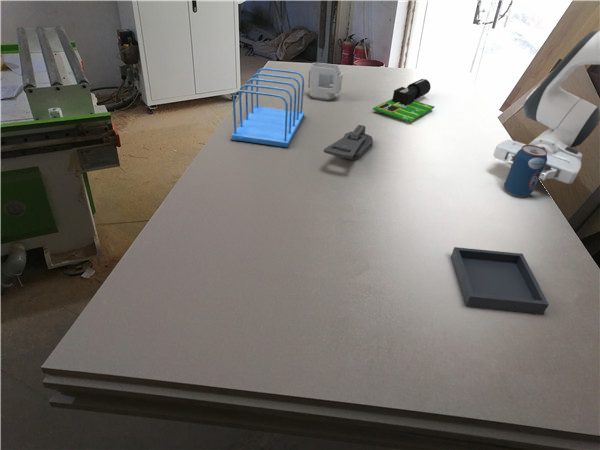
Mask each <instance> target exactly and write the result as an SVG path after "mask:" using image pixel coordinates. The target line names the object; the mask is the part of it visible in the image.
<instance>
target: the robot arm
mask: <svg viewBox="0 0 600 450" xmlns="http://www.w3.org/2000/svg"><path fill="white" fill-rule="evenodd" d="M587 65H593V66H596V65H597V66H598V65H599V66H600V30H594V31H590V32H589V33H587V34H586V35H585V36H583V38H581V39H580V40H579V41H578V42H577V43H576V45H574V47H572V49H571V50H569V52H567V54H566V55H565V56H564V57H563V58H562V59H561V61H560V62H559V63H558V64H557V65H556V66H555V67H554V69H553V70H552V71H551V72H550V73H549V74H548V75H547V76H546V77H545V79H544V80H543V81H542V82H541V83H540V84H538V85H537V86H536V87H534V89H533V90H531V92H530V93H529V94H528V95H527V97H526V98H525V100H524V103H523V105H522V108H523V112H524V115H525V117H526V118H527V119H530V120H532V121H534V122H537V123H540V124H541V125H543V126H545V127H546V128H547V129H545V130H544V131H543V132H542V133H540V134H539V135H538V136H537V137H535V138H534V139H533V140H532V141H531V142H529V144H528V145H535V146H539V147H541V148H543V149H545V150H546V151H547V162H546V164H545V166H544V168H543V171H542V172H541V173H540V176H539V177H538V178H539V179H538V180H542V181H546V180H549V179H552V180H555V181H558V182H561V183H563V184H568V185H571V184H573V183H574V182H575V180H576V178H577V176H578V174H579V172H580V170H581V168H582V159H583V154H582V152H579V151H577V150H575V149H574V148H575V147H578V146H580V145H582V144H583V143H584V142H585V141H586V139H587V138H588V137H589V136H591V134H592V133H593V132H594V131H595V129H596V128H597V126H598V125H599V123H600V108H599V106H597V105H595V104H593V103H592V102H590V101H587V100H585V99H583V98H580V97H579V96H577V95H575V94H573V93H570V92H569V91H566V90H565V89H563V87H562V84H563V83H564V82H565V81H566V80H567V79H568V78H569V77H570V76H571V74H573V72H574V71H576V69H577V68H579V67H581V66H587ZM524 145H527V144H526V143H523V142H520V141H516V140H512V139H506V140H504V141H502V142H500V143H497V145H496V146H495V148H494V151H493V155H492V156H493V158H495V159H497V160H500V161H503V162H505V165H504V166H505V167H506V168H509V169H510V168H511V166H512V164H513V161H514V159H515V156H516V154H517V152H518V151H519V150H520V149H521V148H522V146H524Z"/></svg>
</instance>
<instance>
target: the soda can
mask: <svg viewBox="0 0 600 450" xmlns="http://www.w3.org/2000/svg"><path fill="white" fill-rule="evenodd" d="M546 162H547V151H546V150H545V149H543V148H541V147H539V146H535V145H529V144H526V145H524V146H522V148H521V149H520V150H519V151H518V152H517V154H516V156H515V159H514V161H513V164H512V166H511V168H509V171H508V173H507V176H506V178H505V181H504V183H503V186H504V189H505V191H506V193H508V194H509V195H511V196H513V197H517V198H526V197H528V196H529V195H531V194H532V193H533V192H534V190H535V188H536V186H537V184H538V182H539V180H540V179H539V178H538V177H539V176H540V173H541V172H542V171H543V168H544V166H545V164H546Z"/></svg>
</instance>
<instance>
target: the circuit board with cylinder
mask: <svg viewBox="0 0 600 450" xmlns="http://www.w3.org/2000/svg"><path fill="white" fill-rule="evenodd" d="M431 86H432V85H431V82H430V81H429V80H428V79H426V78H421V79H418V80H416V81H413V82H412V83H410V84H408V85H407V87H404V86H401V87H398V88H396V89H394V90H393V94H392V98H390V99H389V100H386V101H385V102H382V103H380V104H378V105H377V106H374V107H372V110H373V111H375V112H379V113H382V114H384V115H388V116H391V117H394V118H397V119H400V120H403V121H406V122H409V123H410V122H413V121H414V120H416V119H418V118H419V117H421V116H423V115H424V114H426V113H428V112H429V111H432V110H433V109H435V106H434V105H432V104H431V105H430V104H428V103H424V102H421V101H418V100H417V99H419V98H422V97H423V96H425V95H427V94H428V93H429V92H430V91H431V89H432V88H431Z"/></svg>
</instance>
